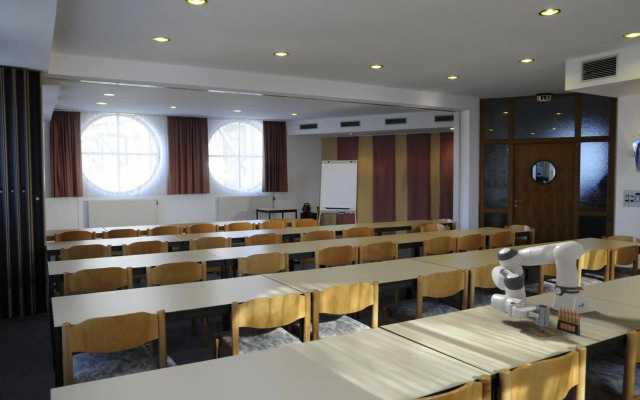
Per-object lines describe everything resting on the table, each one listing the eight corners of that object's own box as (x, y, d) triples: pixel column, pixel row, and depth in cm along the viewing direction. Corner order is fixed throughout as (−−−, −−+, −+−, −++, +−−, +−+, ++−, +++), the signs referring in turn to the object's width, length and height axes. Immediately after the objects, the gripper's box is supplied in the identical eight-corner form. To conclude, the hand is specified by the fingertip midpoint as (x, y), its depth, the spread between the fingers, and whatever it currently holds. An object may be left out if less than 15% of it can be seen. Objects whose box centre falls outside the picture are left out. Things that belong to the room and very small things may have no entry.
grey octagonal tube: (542, 322, 246) (543, 304, 245) (551, 326, 240) (552, 307, 239) (532, 323, 244) (533, 305, 243) (541, 327, 238) (542, 308, 238)
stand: (542, 328, 248) (543, 311, 248) (557, 335, 239) (558, 317, 238) (526, 330, 245) (527, 312, 245) (540, 337, 236) (541, 318, 235)
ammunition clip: (556, 329, 248) (557, 305, 248) (558, 328, 249) (559, 305, 249) (578, 335, 240) (579, 311, 239) (580, 334, 241) (581, 310, 240)
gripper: (531, 311, 258) (556, 318, 247) (506, 316, 247) (531, 324, 236) (532, 299, 258) (557, 305, 246) (506, 304, 247) (531, 311, 235)
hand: (544, 315), depth 241 cm, fingers closed on grey octagonal tube, 6 cm apart
